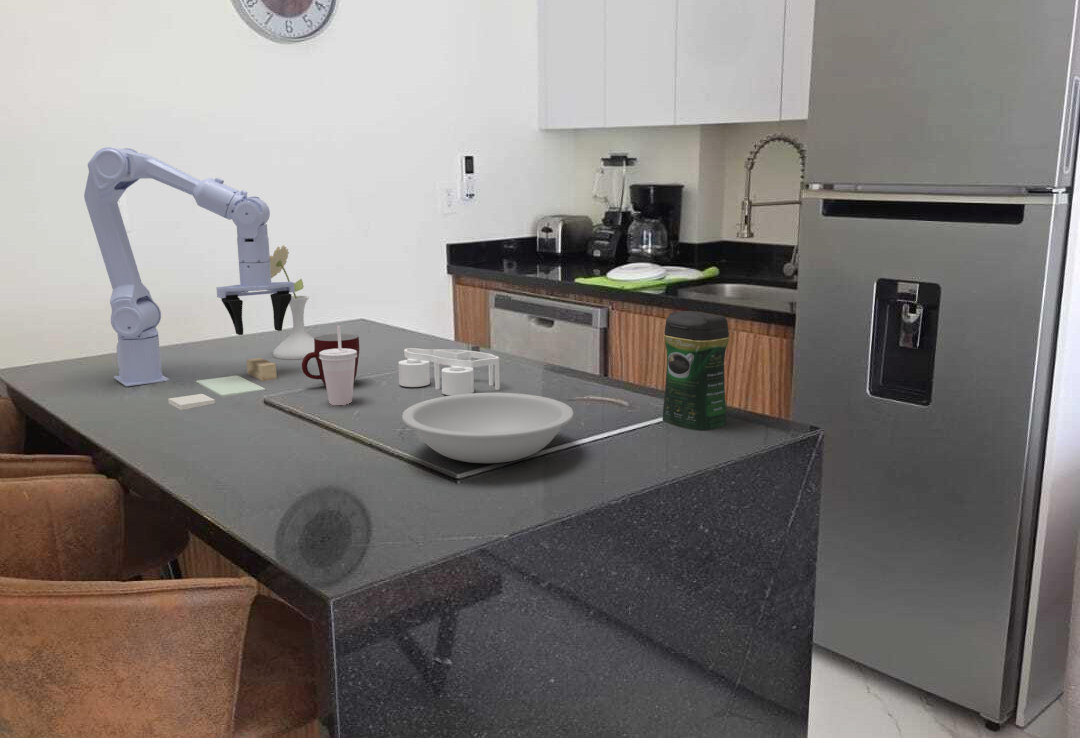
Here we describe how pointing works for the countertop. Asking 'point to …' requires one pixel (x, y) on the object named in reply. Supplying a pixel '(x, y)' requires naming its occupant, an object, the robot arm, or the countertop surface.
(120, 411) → the countertop surface
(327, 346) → the mug
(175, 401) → the tile
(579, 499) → the countertop surface
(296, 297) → the flower in vase
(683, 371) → the coffee jar
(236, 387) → the mat
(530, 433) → the soup bowl
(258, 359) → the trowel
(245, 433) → the countertop surface
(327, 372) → the smoothie
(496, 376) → the white rack with cylinders
